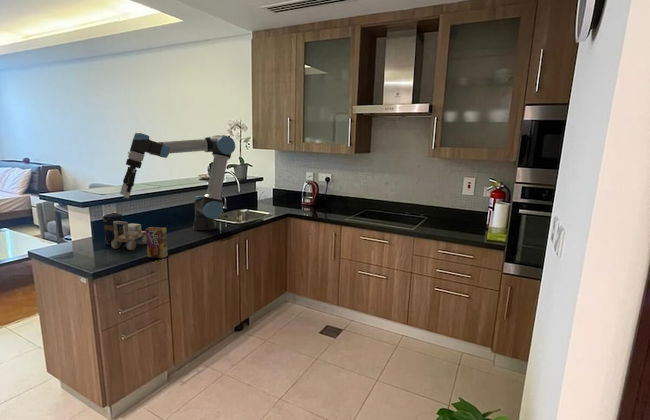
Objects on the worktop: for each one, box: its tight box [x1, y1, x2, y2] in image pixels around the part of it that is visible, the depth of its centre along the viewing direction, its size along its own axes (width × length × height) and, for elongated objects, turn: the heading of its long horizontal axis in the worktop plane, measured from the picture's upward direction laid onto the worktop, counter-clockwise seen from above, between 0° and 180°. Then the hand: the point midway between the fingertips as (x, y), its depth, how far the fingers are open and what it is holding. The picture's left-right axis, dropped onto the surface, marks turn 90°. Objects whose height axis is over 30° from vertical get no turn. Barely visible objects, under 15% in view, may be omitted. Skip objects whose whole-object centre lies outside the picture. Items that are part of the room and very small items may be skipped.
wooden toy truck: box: [111, 221, 147, 251], centre depth 193 cm, size 18×11×16 cm, turn 172°
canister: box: [102, 212, 124, 245], centre depth 197 cm, size 10×10×18 cm
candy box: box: [145, 226, 169, 259], centre depth 178 cm, size 9×4×15 cm, turn 86°
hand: (124, 196), depth 194 cm, fingers open, 13 cm apart
